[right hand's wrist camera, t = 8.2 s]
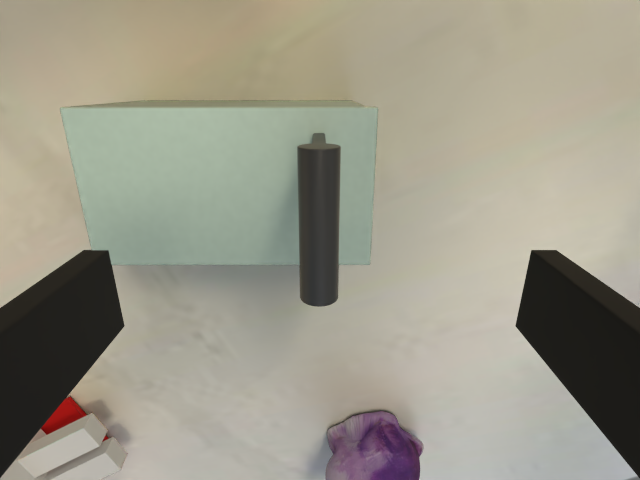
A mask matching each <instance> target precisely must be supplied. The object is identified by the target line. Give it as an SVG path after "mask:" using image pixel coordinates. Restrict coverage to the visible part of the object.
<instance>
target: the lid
mask: <svg viewBox="0 0 640 480" xmlns="http://www.w3.org/2000/svg"><path fill="white" fill-rule="evenodd" d="M60 112H61V116H62V120H63V125H64V129H65V134H66V138H67V143H68V147H69V151H70V156H71V160H72V165H73V169H74V174H75V178H76V182H77V187H78V191H79V196H80V200H81V205H82V209H83V213H84V218H85V222H86V227H87V231H88V236H89V240H90V244H91V249H92V250H109V255H110V260H111V264H112V265H300V298H301V300H302V301H303V302H304V303H306V304H308V305H311V306H327V305H330V304H333V303H334V302H336V300H337V299H338V272H339V265H370V259H371V240H372V220H373V200H374V180H375V160H376V140H377V120H378V108H377V107H61V108H60Z"/></svg>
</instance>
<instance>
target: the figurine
mask: <svg viewBox="0 0 640 480" xmlns="http://www.w3.org/2000/svg"><path fill="white" fill-rule="evenodd" d="M327 436H328V441H329V447H330V449H331V450H332V452H333V456H332V457H331V459H330V460H329V462H328V464H327V467H326V480H419V476H420V462H419V457H420V455H421V454H422V452H423V448H424V447H423V443H422V442H421V441H420V440H419V439H418V438H417V437H415V436H413V435H412V434H410V433H408V432H406V431H404V430H403V429H401V428H400V427H399V423H398V421H397V418H396V417H395V416H394V415H393V414H391V413H388V412H385V411H378V412H371V413H363V414H359V415H355V416H352V417H350V418H349V419H347V420H346V421H344V422H343V423H340V424H338V425H335V426H333V427H331V428H329V429H328V432H327Z"/></svg>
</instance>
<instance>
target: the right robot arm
mask: <svg viewBox="0 0 640 480" xmlns="http://www.w3.org/2000/svg"><path fill="white" fill-rule="evenodd" d="M123 327H124V322H123V317H122V312H121V308H120V303H119V298H118V293H117V288H116V284H115V279H114V274H113V269H112V264H111V260H110V255H109V250H83V251H82V252H81V253H79V254H78V255H76V256H75V257H73V258H72V259H71V260H69V261H68V262H66V263H65V264H63V265H62V266H60V267H59V268H58V269H56V270H55V271H53V272H52V273H50V274H49V275H47V276H46V277H45V278H43V279H42V280H40V281H39V282H37V283H36V284H34V285H33V286H32V287H30V288H29V289H27V290H26V291H24V292H23V293H21V294H20V295H19V296H17V297H16V298H14V299H13V300H11V301H10V302H8V303H7V304H6V305H4V306H3V307H1V308H0V478H1V477H2V475H3V474H4V473H5V472H6V471H7V469H8V468H9V467H10V466H11V464H12V463H13V462H14V461H15V459H16V458H17V457H18V456H19V455H20V453H21V452H22V451H23V450H24V448H25V447H26V446H27V445H28V444H29V442H30V441H31V440H32V439H33V437H34V436H35V435H36V434H37V433H38V431H39V430H40V429H41V428H42V426H43V425H44V424H45V423H46V422H47V420H48V419H49V418H50V417H51V415H52V414H53V413H54V412H55V410H56V409H57V408H58V407H59V406H60V404H61V403H62V402H63V401H64V399H65V398H66V397H67V396H68V395H69V393H70V392H71V391H72V390H73V388H74V387H75V386H76V385H77V384H78V382H79V381H80V380H81V379H82V377H83V376H84V375H85V374H86V373H87V371H88V370H89V369H90V368H91V366H92V365H93V364H94V363H95V361H96V360H97V359H98V358H99V357H100V355H101V354H102V353H103V352H104V350H105V349H106V348H107V347H108V346H109V344H110V343H111V342H112V341H113V339H114V338H115V337H116V336H117V335H118V333H119V332H120V331H121V330H122V328H123ZM516 327H517V328H518V330H519V331H520V332H521V333H522V335H523V336H524V337H525V338H526V339H527V341H528V342H529V343H530V344H531V346H532V347H533V348H534V349H535V350H536V352H537V353H538V354H539V355H540V357H541V358H542V359H543V360H544V361H545V363H546V364H547V365H548V366H549V368H550V369H551V370H552V371H553V373H554V374H555V375H556V376H557V377H558V379H559V380H560V381H561V382H562V384H563V385H564V386H565V387H566V388H567V390H568V391H569V392H570V393H571V395H572V396H573V397H574V398H575V399H576V401H577V402H578V403H579V404H580V406H581V407H582V408H583V409H584V410H585V412H586V413H587V414H588V415H589V417H590V418H591V419H592V420H593V422H594V423H595V424H596V425H597V426H598V428H599V429H600V430H601V431H602V433H603V434H604V435H605V436H606V437H607V439H608V440H609V441H610V442H611V444H612V445H613V446H614V447H615V448H616V450H617V451H618V452H619V453H620V455H621V456H622V457H623V458H624V459H625V461H626V462H627V463H628V464H629V466H630V467H631V468H632V469H633V471H634V472H635V473H636V474H637V475H638V477H639V478H640V308H639V307H637V306H636V305H634V304H633V303H632V302H630V301H629V300H627V299H626V298H624V297H623V296H621V295H620V294H619V293H617V292H616V291H614V290H613V289H611V288H610V287H608V286H607V285H606V284H604V283H603V282H601V281H600V280H598V279H597V278H595V277H594V276H593V275H591V274H590V273H588V272H587V271H585V270H584V269H582V268H581V267H580V266H578V265H577V264H575V263H574V262H572V261H571V260H569V259H568V258H567V257H565V256H564V255H562V254H561V253H559V252H558V251H557V250H531V255H530V260H529V264H528V269H527V274H526V279H525V284H524V288H523V293H522V298H521V303H520V308H519V312H518V317H517V322H516Z"/></svg>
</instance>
